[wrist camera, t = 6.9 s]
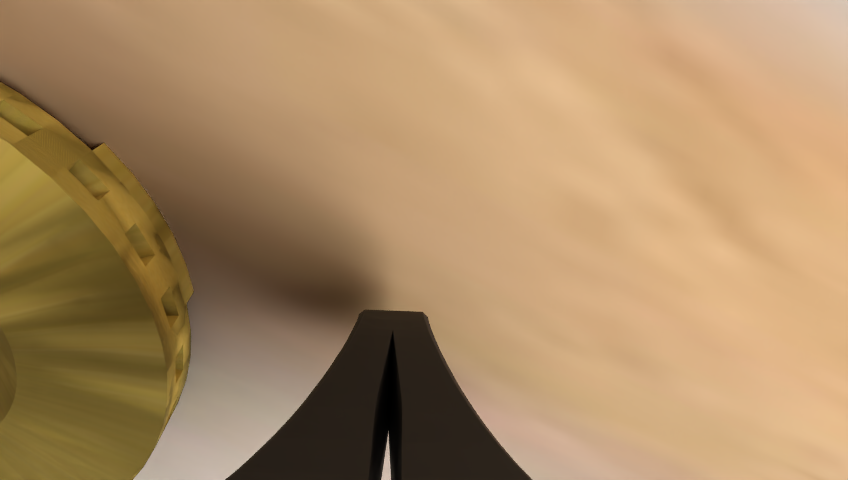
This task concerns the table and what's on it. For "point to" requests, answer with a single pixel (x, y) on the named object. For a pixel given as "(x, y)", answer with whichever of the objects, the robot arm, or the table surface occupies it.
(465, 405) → the robot arm
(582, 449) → the table surface
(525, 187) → the table surface
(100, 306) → the gold round shallow dish
